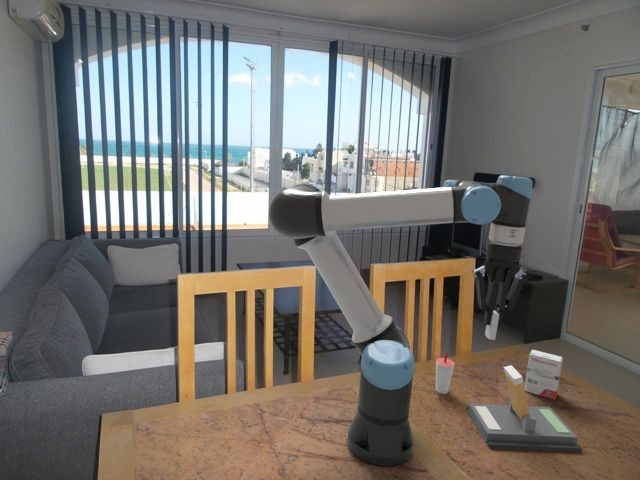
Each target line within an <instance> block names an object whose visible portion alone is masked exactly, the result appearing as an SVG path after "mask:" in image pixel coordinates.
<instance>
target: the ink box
mask: <svg viewBox="0 0 640 480" xmlns="http://www.w3.org/2000/svg"><path fill="white" fill-rule="evenodd" d="M562 364H563V356H561V355H560V356H559V355H556V354H552V353H549V352H544V351H540V350H536V349H531V351H530V352H529V355H528V363H527V367H526V375H525V379H524V380H525V382H524V388H525V392H528V393H531V394H535V395H538V396H541V397H544V398H548V399H551V400H556V398H557V395H558V389H559V384H560V378H561V377H560V376H561V371H562V366H563V365H562Z"/></svg>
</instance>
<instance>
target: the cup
mask: <svg viewBox="0 0 640 480" xmlns="http://www.w3.org/2000/svg"><path fill="white" fill-rule="evenodd" d="M455 365H456V363H455V361H453V360H452V359H448V352H446V351H445V353H444V357H438V358H436V359H435V391H436V393H438V394H442V395H447V394H448V392H449V388H450V385H451V381H452V377H453V372H454V368H455Z"/></svg>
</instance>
